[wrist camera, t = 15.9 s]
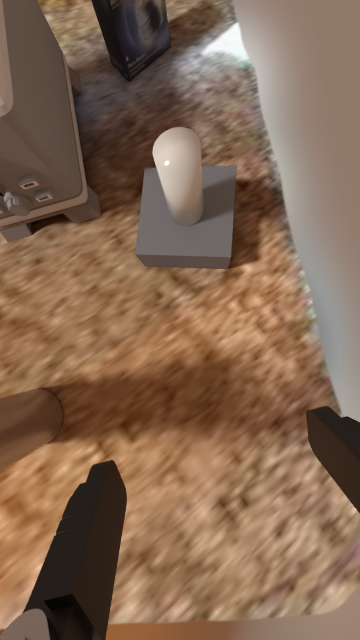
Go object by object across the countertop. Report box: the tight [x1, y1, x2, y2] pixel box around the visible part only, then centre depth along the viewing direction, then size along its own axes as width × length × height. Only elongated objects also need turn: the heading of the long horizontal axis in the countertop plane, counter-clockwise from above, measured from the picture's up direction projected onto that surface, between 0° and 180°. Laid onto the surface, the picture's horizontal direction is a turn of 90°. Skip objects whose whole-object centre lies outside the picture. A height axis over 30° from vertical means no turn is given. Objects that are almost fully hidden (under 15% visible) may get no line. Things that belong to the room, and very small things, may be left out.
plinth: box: [136, 166, 237, 269], centre depth 35 cm, size 14×14×5 cm
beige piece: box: [153, 127, 204, 226], centre depth 27 cm, size 5×5×10 cm
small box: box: [92, 0, 171, 81], centre depth 37 cm, size 11×6×10 cm, turn 128°
